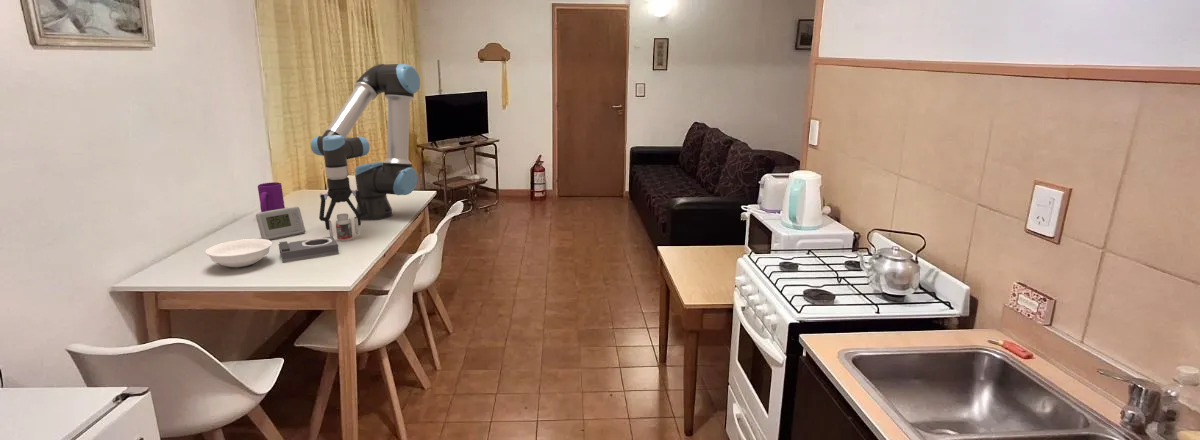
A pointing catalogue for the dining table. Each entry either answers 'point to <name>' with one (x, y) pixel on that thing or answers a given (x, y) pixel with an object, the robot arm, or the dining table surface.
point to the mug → (270, 196)
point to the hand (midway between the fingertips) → (344, 235)
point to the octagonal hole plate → (308, 249)
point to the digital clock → (280, 223)
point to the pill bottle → (343, 227)
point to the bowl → (239, 252)
